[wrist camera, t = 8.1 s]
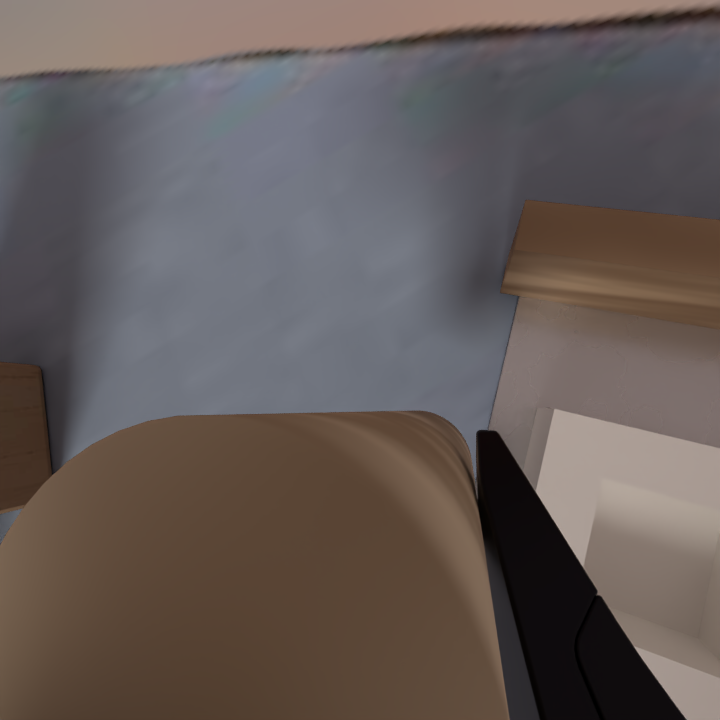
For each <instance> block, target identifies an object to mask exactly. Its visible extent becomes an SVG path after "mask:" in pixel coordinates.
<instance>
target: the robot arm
mask: <svg viewBox="0 0 720 720" xmlns="http://www.w3.org/2000/svg"><path fill="white" fill-rule="evenodd" d="M476 467H477V495H478V507H479V514H480V521H481V528H482V534H483V541H484V548H485V555H486V562H487V569H488V575H489V582H490V589H491V596H492V603H493V609H494V616H495V623H496V630H497V637H498V644H499V650H500V657H501V664H502V671H503V678H504V685H505V691H506V698H507V705H508V712H509V719H510V720H687V719H686V718H685V717H684V715H683V714H682V713H681V711H680V710H679V709H678V707H677V706H676V705H675V703H674V702H673V701H672V699H671V698H670V697H669V695H668V694H667V692H666V691H665V690H664V688H663V687H662V685H661V684H660V683H659V681H658V680H657V679H656V677H655V676H654V674H653V673H652V672H651V670H650V669H649V668H648V666H647V665H646V663H645V662H644V661H643V659H642V658H641V656H640V655H639V653H638V652H637V650H636V649H635V647H634V646H633V644H632V643H631V641H630V640H629V638H628V637H627V635H626V634H625V632H624V631H623V629H622V628H621V626H620V625H619V623H618V622H617V620H616V618H615V617H614V615H613V614H612V612H611V610H610V609H609V607H608V606H607V604H606V602H605V601H604V599H603V598H602V596H600V595H597V593H598V590H597V589H596V587H595V585H594V584H593V582H592V581H591V579H590V577H589V576H588V574H587V573H586V571H585V569H584V568H583V566H582V565H581V563H580V561H579V560H578V558H577V557H576V555H575V554H574V552H573V550H572V549H571V547H570V546H569V544H568V542H567V541H566V539H565V538H564V536H563V534H562V533H561V531H560V530H559V528H558V526H557V525H556V523H555V522H554V520H553V519H552V517H551V515H550V514H549V512H548V511H547V509H546V507H545V506H544V504H543V503H542V501H541V499H540V498H539V496H538V495H537V493H536V491H535V490H534V488H533V487H532V485H531V483H530V482H529V480H528V479H527V477H526V476H525V474H524V472H523V471H522V469H521V468H520V466H519V464H518V463H517V461H516V460H515V458H514V456H513V455H512V453H511V452H510V450H509V448H508V447H507V445H506V444H505V442H504V440H503V439H502V437H501V436H500V434H499V433H498V432H497V431H495V430H479V431H477V433H476Z"/></svg>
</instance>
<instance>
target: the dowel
mask: <svg viewBox="0 0 720 720" xmlns="http://www.w3.org/2000/svg"><path fill="white" fill-rule="evenodd" d="M0 720H510V719H509V712H508V705H507V698H506V691H505V685H504V678H503V671H502V664H501V657H500V650H499V644H498V637H497V630H496V623H495V616H494V609H493V603H492V596H491V589H490V582H489V575H488V569H487V562H486V555H485V548H484V541H483V534H482V528H481V521H480V514H479V507H478V500H477V494H476V487H475V480H474V473H473V466H472V460H471V454H470V451H469V448H468V445H467V443H466V441H465V439H464V437H463V436H462V434H461V433H460V432H459V431H458V429H457V428H456V427H455V426H454V425H453V424H452V423H450V422H449V421H448V420H446V419H445V418H443V417H441V416H439V415H436V414H434V413H431V412H427V411H377V412H330V413H284V414H237V415H191V416H174V417H168V418H163V419H157V420H151V421H147V422H144V423H141V424H138V425H135V426H132V427H129V428H126V429H123V430H120V431H118V432H116V433H114V434H112V435H110V436H108V437H106V438H104V439H102V440H100V441H98V442H96V443H94V444H92V445H91V446H89V447H88V448H86V449H85V450H83V451H82V452H81V453H79V454H78V455H76V456H75V457H73V458H72V459H71V460H69V461H68V462H67V463H65V464H64V465H63V466H62V467H61V468H60V469H59V470H58V471H57V472H56V473H55V474H54V475H52V476H51V477H50V478H49V479H48V480H47V481H46V482H45V483H44V484H43V485H42V486H41V488H40V489H39V490H38V491H37V492H36V493H35V495H34V496H33V497H32V498H31V499H30V501H29V502H28V503H27V504H26V505H25V506H24V508H23V509H22V511H21V512H20V514H19V515H18V517H17V518H16V520H15V521H14V523H13V524H12V526H11V527H10V529H9V530H8V532H7V533H6V535H5V537H4V539H3V541H2V543H1V545H0Z"/></svg>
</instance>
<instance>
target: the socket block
mask: <svg viewBox="0 0 720 720" xmlns="http://www.w3.org/2000/svg"><path fill="white" fill-rule="evenodd" d="M523 472H524V474H525V476H526V477H527V479H528V480H529V482H530V483H531V485H532V487H533V488H534V490H535V491H536V493H537V495H538V496H539V498H540V499H541V501H542V503H543V504H544V506H545V507H546V509H547V511H548V512H549V514H550V515H551V517H552V519H553V520H554V522H555V523H556V525H557V526H558V528H559V530H560V531H561V533H562V534H563V536H564V538H565V539H566V541H567V542H568V544H569V546H570V547H571V549H572V550H573V552H574V554H575V555H576V557H577V558H578V560H579V561H580V563H581V565H582V566H583V568H584V569H585V571H586V573H587V574H588V576H589V577H590V579H591V581H592V582H593V584H594V585H595V587H596V589H597V590H598V593H597V595H600V596H602V598H603V599H604V601H605V602H606V604H607V606H608V607H609V609H610V610H611V612H612V614H613V615H614V617H615V618H616V620H617V622H618V623H619V625H620V626H621V628H622V629H623V631H624V632H625V634H626V635H627V637H628V638H629V640H630V641H631V643H632V644H633V646H634V647H635V649H636V650H637V652H638V653H639V655H640V656H641V658H642V659H643V661H644V662H645V663H646V665H647V666H648V668H649V669H650V670H651V672H652V673H653V674H654V676H655V677H656V679H657V680H658V681H659V683H660V684H661V685H662V687H663V688H664V690H665V691H666V692H667V694H668V695H669V697H670V698H671V699H672V701H673V702H674V703H675V705H676V706H677V707H678V709H679V710H680V711H681V713H682V714H683V715H684V717H685V718H686V719H687V720H720V448H716V447H712V446H708V445H704V444H700V443H695V442H691V441H687V440H683V439H679V438H674V437H670V436H666V435H662V434H658V433H654V432H649V431H645V430H641V429H637V428H633V427H628V426H624V425H620V424H616V423H612V422H607V421H603V420H599V419H595V418H591V417H586V416H582V415H578V414H574V413H570V412H566V411H561V410H557V409H547V408H537V412H536V416H535V420H534V425H533V429H532V434H531V438H530V442H529V447H528V451H527V456H526V460H525V464H524V469H523Z"/></svg>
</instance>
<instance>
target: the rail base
mask: <svg viewBox="0 0 720 720" xmlns="http://www.w3.org/2000/svg"><path fill="white" fill-rule="evenodd" d="M500 293H505V294H511V295H517V296H519V297H518V302H517V306H516V310H515V315H514V319H513V323H512V328H511V332H510V336H509V340H508V345H507V349H506V353H505V358H504V362H503V366H502V370H501V375H500V379H499V383H498V388H497V392H496V396H495V400H494V405H493V409H492V413H491V418H490V422H489V426H488V430H495V431H497V432H498V433H499V434H500V436H501V437H502V439H503V440H504V442H505V444H506V445H507V447H508V448H509V450H510V452H511V453H512V455H513V456H514V458H515V460H516V461H517V463H518V464H519V466H520V468H521V469H522V471H523V469H524V464H525V460H526V456H527V451H528V447H529V442H530V438H531V434H532V429H533V425H534V420H535V416H536V412H537V408H547V409H557V410H561V411H566V412H570V413H574V414H578V415H582V416H586V417H591V418H595V419H599V420H603V421H607V422H612V423H616V424H620V425H624V426H628V427H633V428H637V429H641V430H645V431H649V432H654V433H658V434H662V435H666V436H670V437H674V438H679V439H683V440H687V441H691V442H695V443H700V444H704V445H708V446H712V447H716V448H720V220H717V219H707V218H697V217H688V216H678V215H668V214H658V213H649V212H639V211H629V210H620V209H610V208H600V207H591V206H581V205H571V204H562V203H552V202H542V201H532V200H526V201H525V204H524V207H523V210H522V214H521V217H520V220H519V224H518V227H517V230H516V233H515V237H514V240H513V243H512V247H511V250H510V253H509V256H508V261H507V265H506V269H505V273H504V278H503V282H502V286H501V290H500ZM475 487H476V494H477V478H476V482H475ZM477 500H478V495H477Z"/></svg>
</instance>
